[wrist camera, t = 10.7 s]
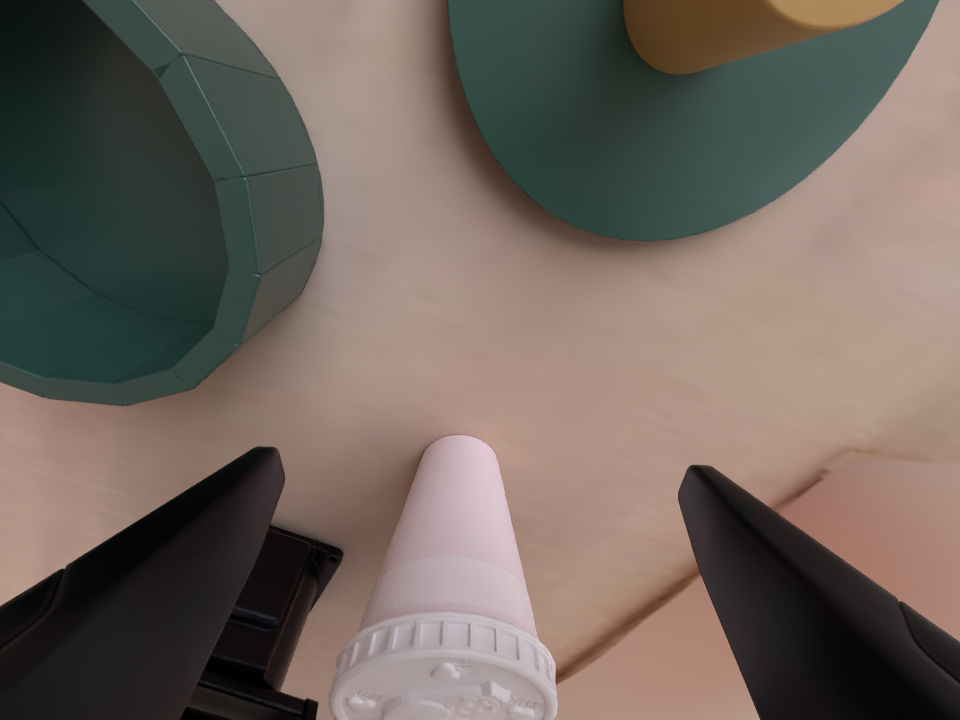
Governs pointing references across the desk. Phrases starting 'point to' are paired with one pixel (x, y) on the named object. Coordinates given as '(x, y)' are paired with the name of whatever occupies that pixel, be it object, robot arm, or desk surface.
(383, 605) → the smoothie
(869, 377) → the desk surface
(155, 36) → the tin
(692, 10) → the lid
